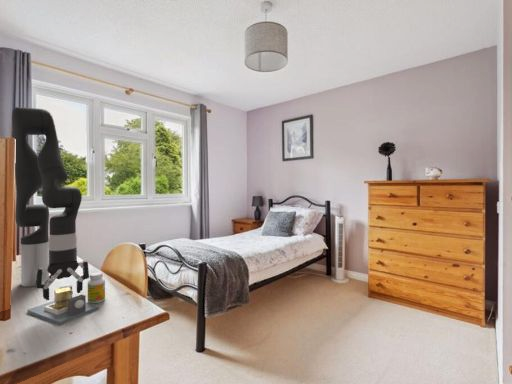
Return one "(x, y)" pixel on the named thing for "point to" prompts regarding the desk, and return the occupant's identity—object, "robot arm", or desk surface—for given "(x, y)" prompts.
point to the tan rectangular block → (62, 297)
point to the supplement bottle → (96, 288)
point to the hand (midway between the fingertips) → (63, 295)
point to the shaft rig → (64, 309)
